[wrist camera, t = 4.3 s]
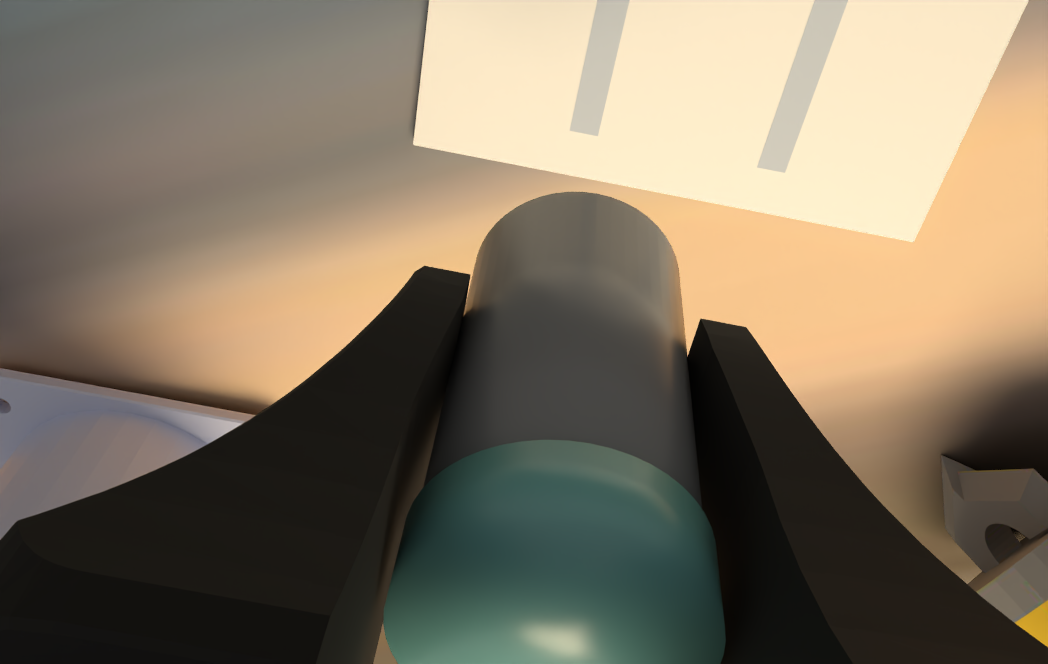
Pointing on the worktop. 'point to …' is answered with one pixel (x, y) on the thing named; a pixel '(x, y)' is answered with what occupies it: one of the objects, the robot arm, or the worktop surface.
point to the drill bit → (1002, 538)
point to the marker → (563, 460)
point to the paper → (721, 97)
